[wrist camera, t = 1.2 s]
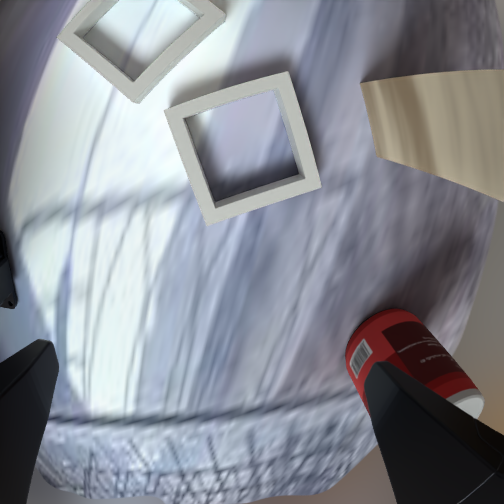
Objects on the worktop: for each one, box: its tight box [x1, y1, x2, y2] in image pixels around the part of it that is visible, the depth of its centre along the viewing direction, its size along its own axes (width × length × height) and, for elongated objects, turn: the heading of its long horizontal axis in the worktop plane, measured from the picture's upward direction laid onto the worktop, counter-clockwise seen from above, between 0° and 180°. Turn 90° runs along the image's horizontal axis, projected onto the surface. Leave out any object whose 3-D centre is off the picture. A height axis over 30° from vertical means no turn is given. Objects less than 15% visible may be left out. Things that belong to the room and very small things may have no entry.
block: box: [360, 70, 504, 202], centre depth 12 cm, size 5×5×13 cm
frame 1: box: [57, 0, 226, 104], centre depth 14 cm, size 7×7×2 cm
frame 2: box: [164, 71, 322, 226], centre depth 17 cm, size 7×7×2 cm
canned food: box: [345, 309, 484, 419], centre depth 21 cm, size 8×8×11 cm
